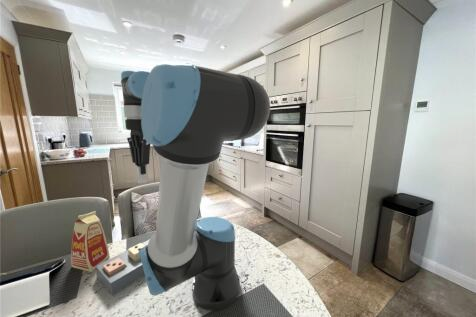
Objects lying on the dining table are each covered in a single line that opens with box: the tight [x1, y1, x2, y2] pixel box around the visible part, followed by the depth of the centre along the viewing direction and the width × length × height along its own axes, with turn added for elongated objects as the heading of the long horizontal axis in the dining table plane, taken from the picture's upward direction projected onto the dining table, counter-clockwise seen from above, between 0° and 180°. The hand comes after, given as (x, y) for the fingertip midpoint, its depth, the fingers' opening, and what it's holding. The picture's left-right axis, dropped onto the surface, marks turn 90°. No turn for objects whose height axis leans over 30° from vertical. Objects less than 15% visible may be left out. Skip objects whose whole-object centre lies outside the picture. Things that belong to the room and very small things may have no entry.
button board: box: [95, 238, 150, 297], centre depth 72 cm, size 12×23×4 cm, turn 144°
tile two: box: [127, 242, 145, 262], centre depth 71 cm, size 5×5×3 cm
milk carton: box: [70, 210, 111, 273], centre depth 73 cm, size 9×9×20 cm
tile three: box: [103, 258, 126, 277], centre depth 65 cm, size 5×5×3 cm
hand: (142, 182), depth 73 cm, fingers closed
